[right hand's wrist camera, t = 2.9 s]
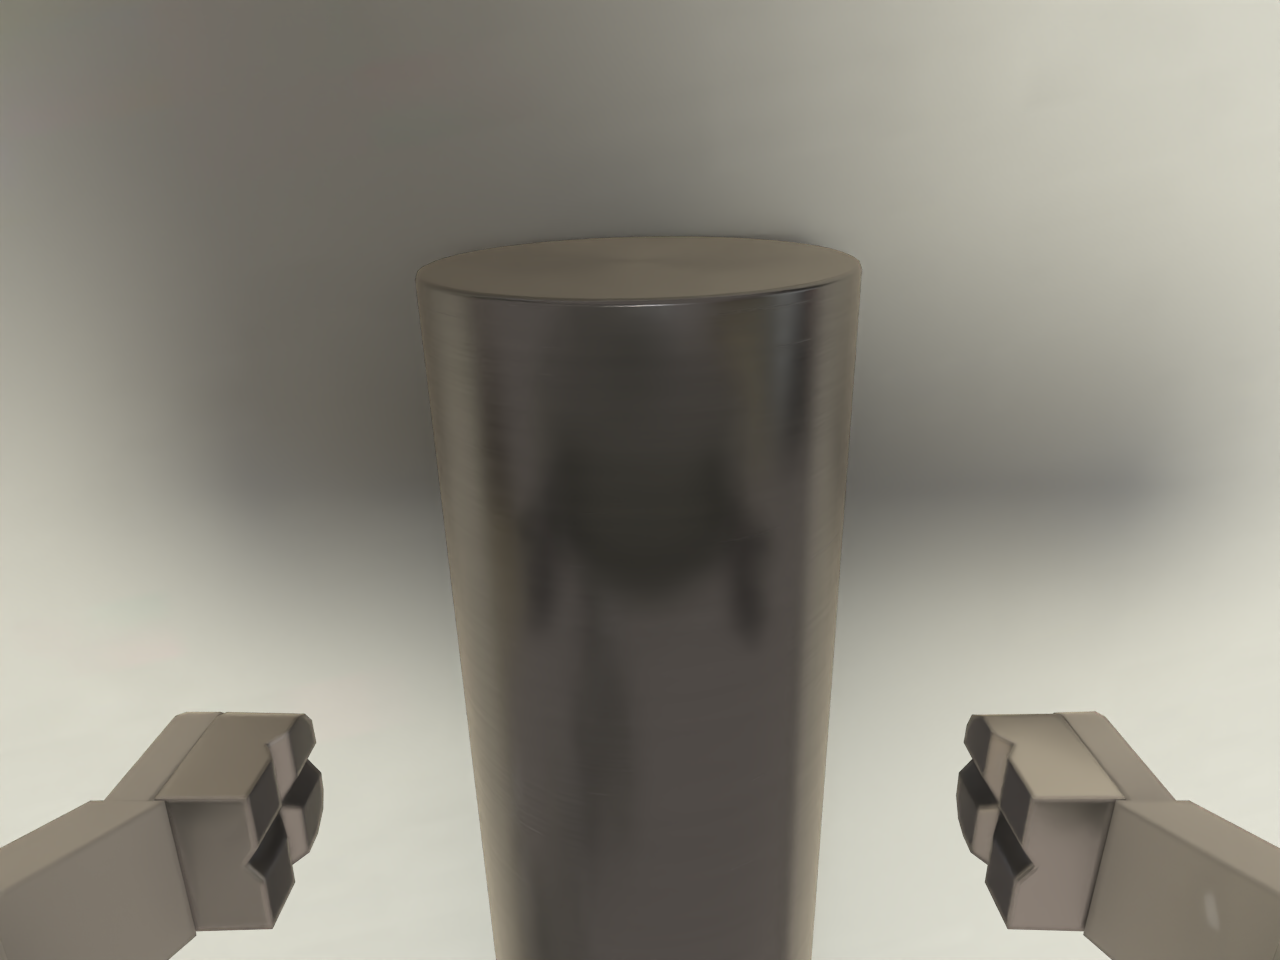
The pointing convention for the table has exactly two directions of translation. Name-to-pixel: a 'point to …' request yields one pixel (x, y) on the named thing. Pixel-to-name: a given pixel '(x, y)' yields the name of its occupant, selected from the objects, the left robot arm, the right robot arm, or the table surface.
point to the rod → (645, 580)
